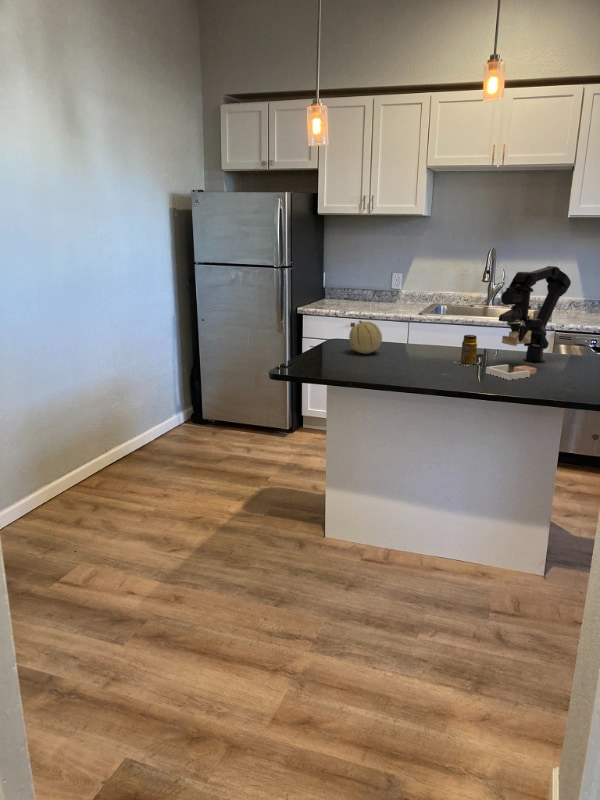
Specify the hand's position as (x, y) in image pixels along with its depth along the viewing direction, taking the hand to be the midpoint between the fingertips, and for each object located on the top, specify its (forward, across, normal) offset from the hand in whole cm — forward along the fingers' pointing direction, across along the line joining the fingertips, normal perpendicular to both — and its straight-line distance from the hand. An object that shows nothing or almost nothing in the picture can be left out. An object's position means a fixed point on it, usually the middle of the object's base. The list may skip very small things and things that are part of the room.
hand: (517, 340), depth 254 cm
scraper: (+1, 0, +1) cm, 1 cm away
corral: (+10, +12, -16) cm, 22 cm away
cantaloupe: (+11, -47, -45) cm, 66 cm away
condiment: (+11, -11, -17) cm, 23 cm away
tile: (+11, +12, -7) cm, 17 cm away
